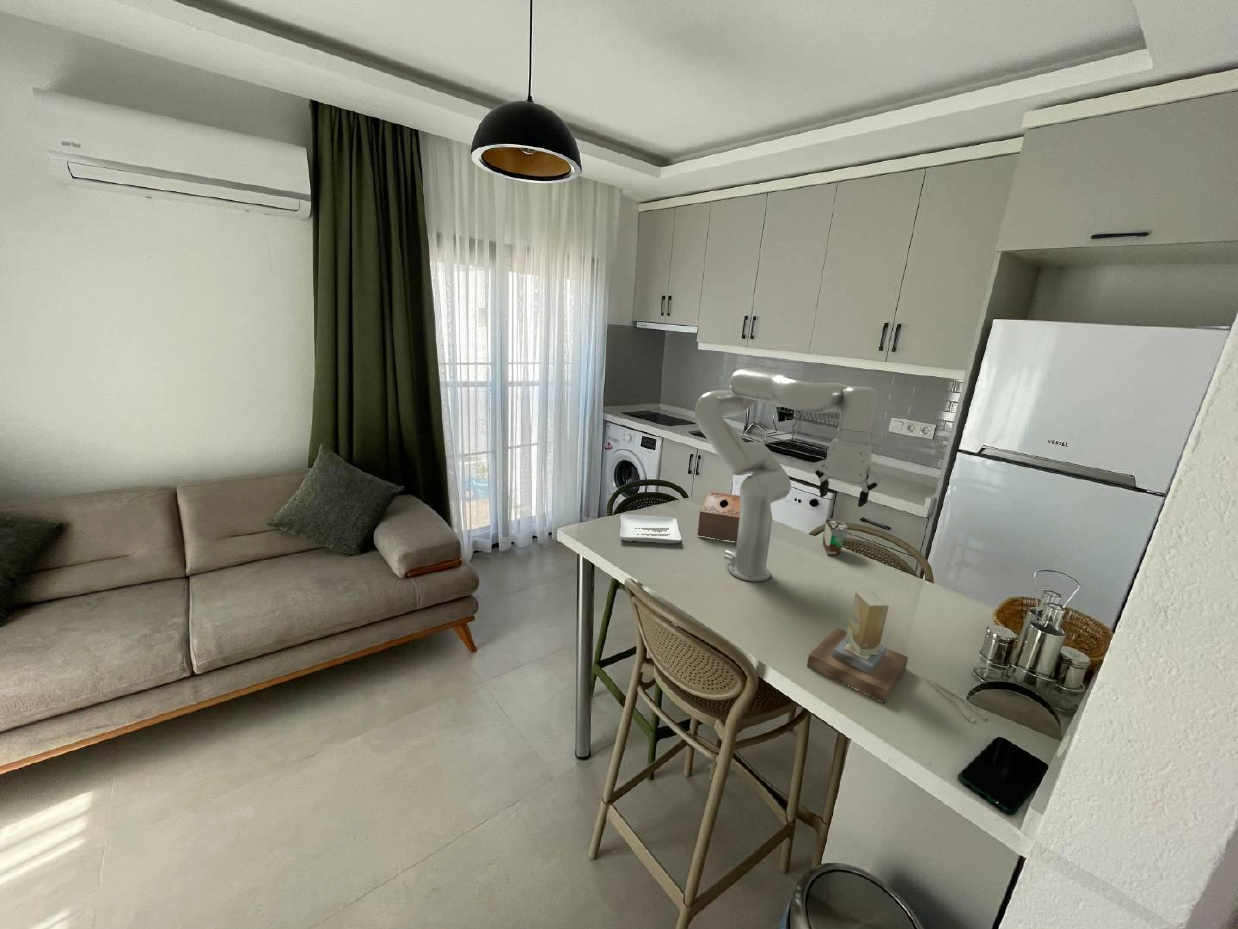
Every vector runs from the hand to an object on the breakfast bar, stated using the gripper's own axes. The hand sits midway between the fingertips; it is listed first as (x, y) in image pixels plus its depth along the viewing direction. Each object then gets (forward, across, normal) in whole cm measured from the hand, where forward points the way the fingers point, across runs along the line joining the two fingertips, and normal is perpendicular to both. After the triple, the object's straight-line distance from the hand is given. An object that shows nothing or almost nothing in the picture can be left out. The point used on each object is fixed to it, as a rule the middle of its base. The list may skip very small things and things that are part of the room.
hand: (841, 500), depth 132 cm
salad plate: (+31, -64, +2) cm, 71 cm away
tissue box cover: (+31, -50, +28) cm, 65 cm away
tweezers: (+31, +32, -17) cm, 47 cm away
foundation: (+30, +16, -22) cm, 41 cm away
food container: (+31, -12, +40) cm, 52 cm away
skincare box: (+25, +16, -22) cm, 37 cm away
